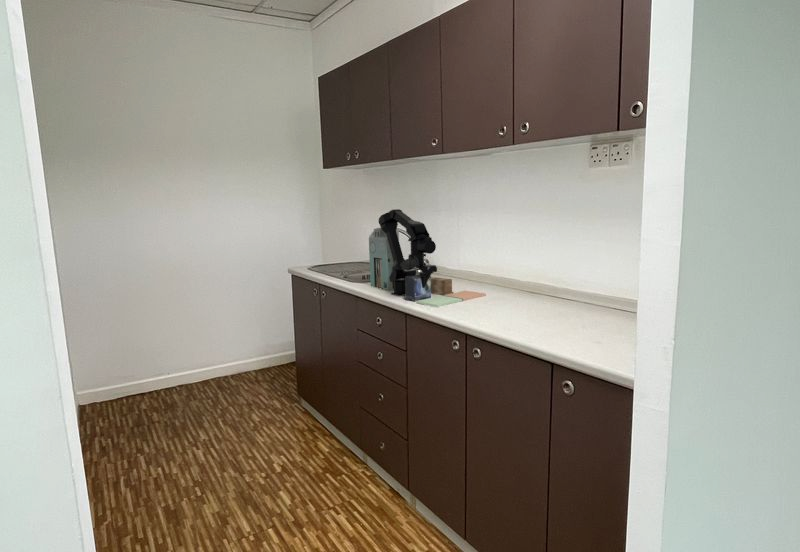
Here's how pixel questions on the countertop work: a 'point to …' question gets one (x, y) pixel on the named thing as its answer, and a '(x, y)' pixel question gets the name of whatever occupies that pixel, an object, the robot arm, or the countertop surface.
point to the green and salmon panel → (450, 298)
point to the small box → (417, 288)
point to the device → (380, 260)
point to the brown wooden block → (441, 286)
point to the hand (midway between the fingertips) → (418, 286)
